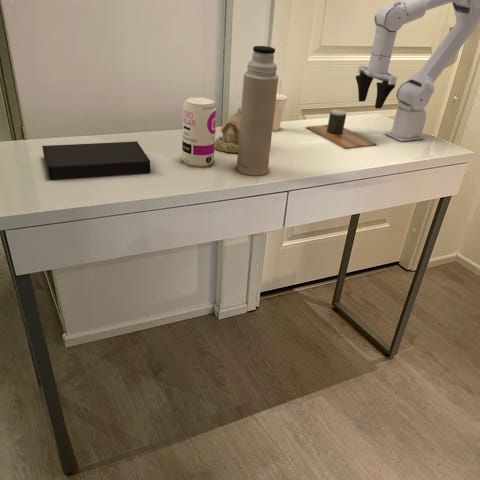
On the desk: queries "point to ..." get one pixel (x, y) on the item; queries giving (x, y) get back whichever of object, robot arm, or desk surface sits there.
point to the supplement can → (198, 131)
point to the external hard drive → (95, 160)
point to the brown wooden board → (342, 137)
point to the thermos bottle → (257, 112)
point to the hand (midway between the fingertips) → (369, 104)
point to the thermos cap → (336, 122)
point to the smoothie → (279, 109)
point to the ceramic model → (230, 134)
